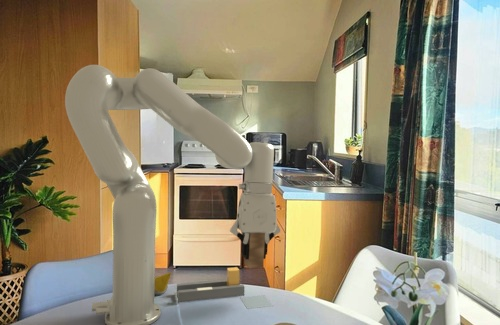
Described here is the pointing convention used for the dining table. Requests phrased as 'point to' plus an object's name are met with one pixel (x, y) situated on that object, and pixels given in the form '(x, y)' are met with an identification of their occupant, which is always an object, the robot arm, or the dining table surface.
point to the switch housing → (207, 290)
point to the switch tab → (232, 276)
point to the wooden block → (256, 250)
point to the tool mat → (256, 302)
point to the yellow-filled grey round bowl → (161, 283)
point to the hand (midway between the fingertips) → (254, 256)
